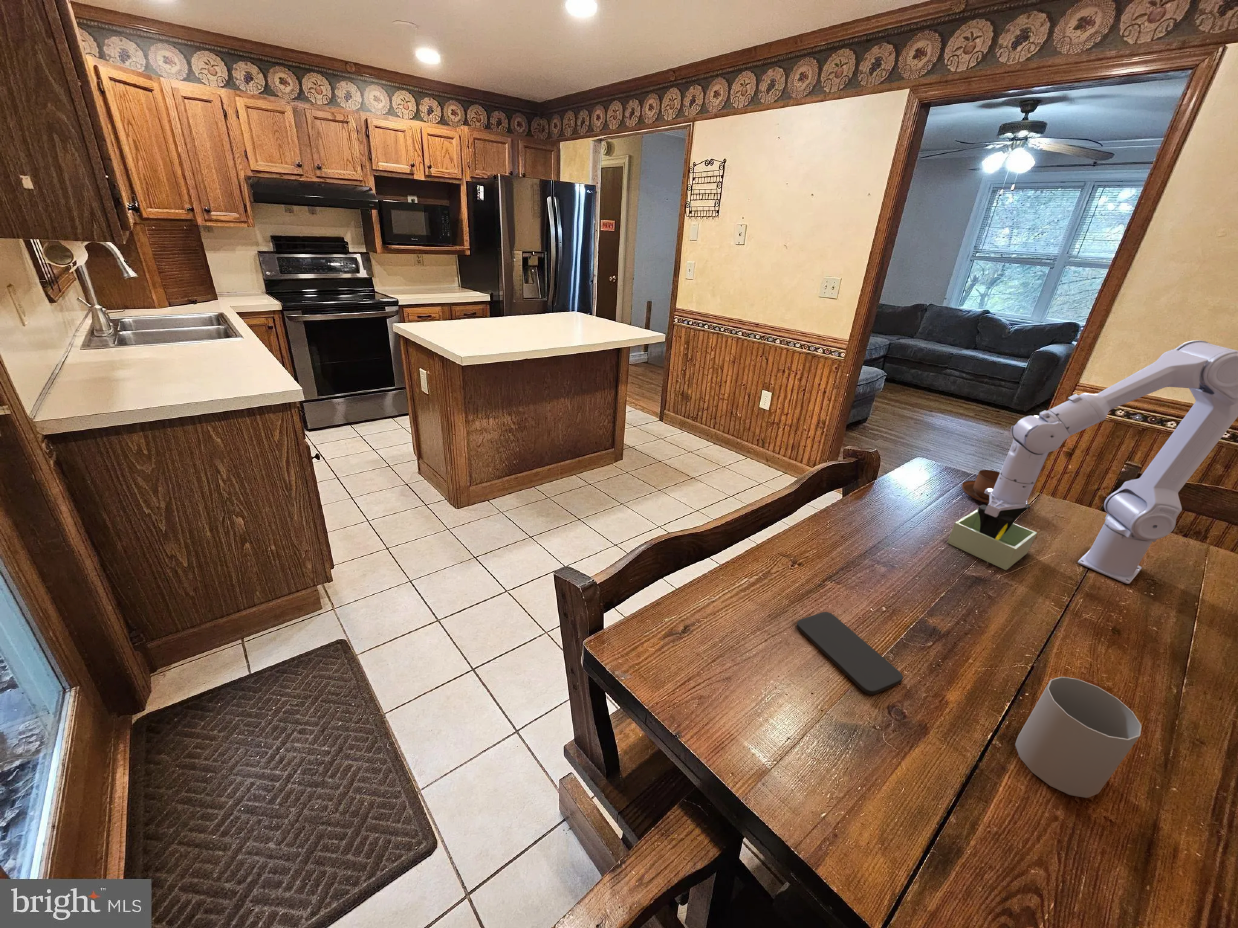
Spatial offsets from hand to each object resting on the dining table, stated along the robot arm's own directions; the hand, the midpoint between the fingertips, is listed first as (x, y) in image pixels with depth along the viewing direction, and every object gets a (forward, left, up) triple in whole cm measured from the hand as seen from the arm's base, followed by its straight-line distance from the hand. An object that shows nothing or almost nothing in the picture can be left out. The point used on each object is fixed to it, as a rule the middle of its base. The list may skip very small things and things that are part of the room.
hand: (992, 536), depth 105 cm
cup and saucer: (-25, -10, -3) cm, 27 cm away
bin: (0, 0, -3) cm, 3 cm away
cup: (+46, +25, -3) cm, 53 cm away
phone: (+52, 0, -3) cm, 52 cm away
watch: (0, 0, -2) cm, 2 cm away
